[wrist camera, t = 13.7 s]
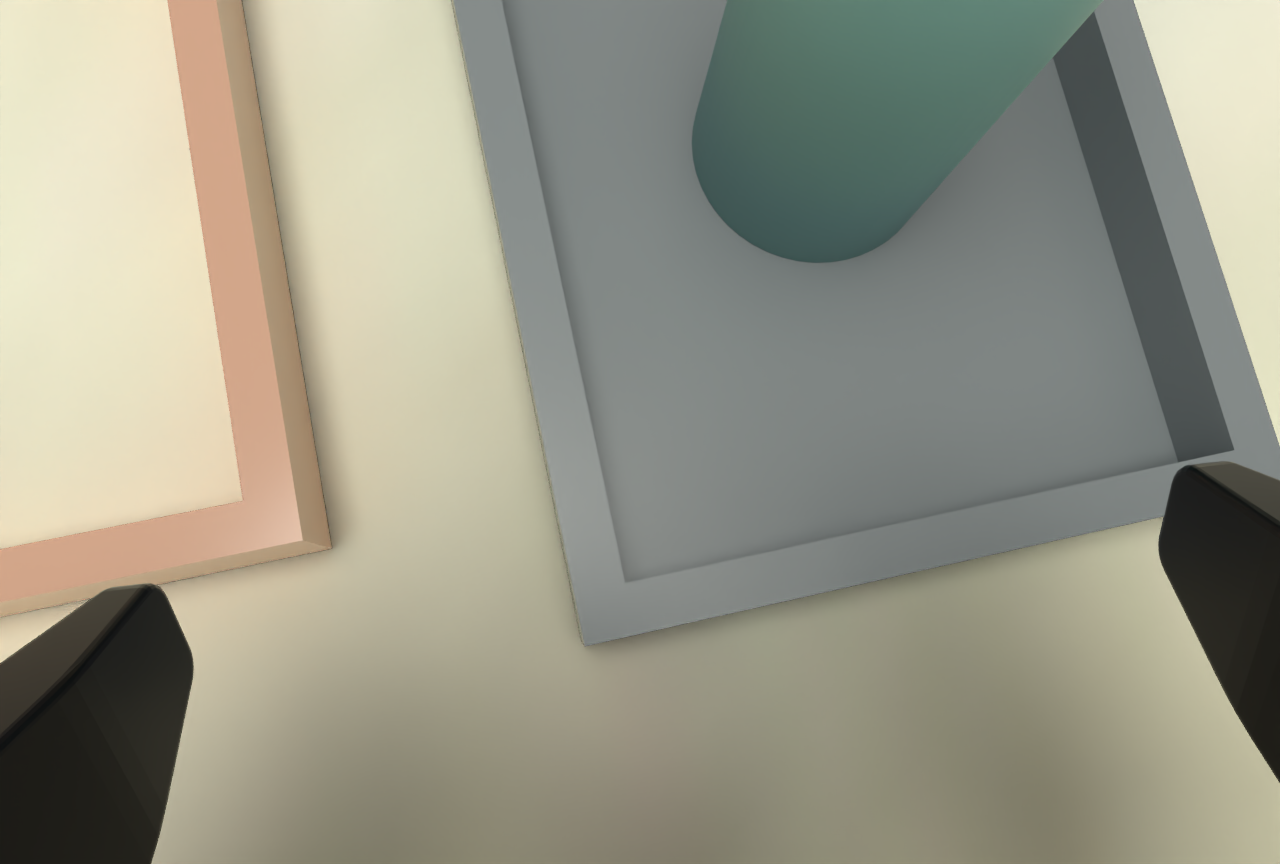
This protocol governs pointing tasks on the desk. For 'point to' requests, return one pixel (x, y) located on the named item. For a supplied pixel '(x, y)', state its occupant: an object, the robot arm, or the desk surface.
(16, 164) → the desk surface
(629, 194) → the tray
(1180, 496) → the robot arm
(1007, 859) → the desk surface
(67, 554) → the pink square frame
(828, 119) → the canister
